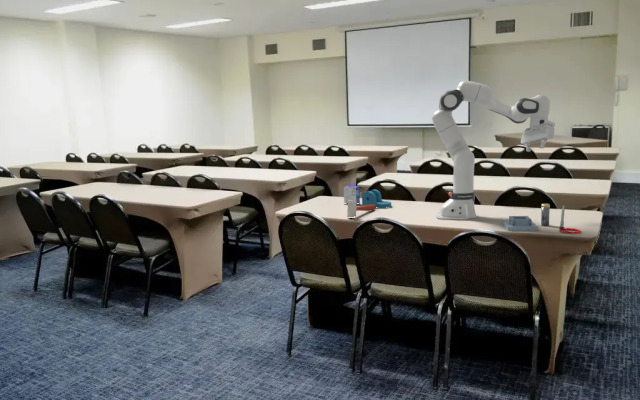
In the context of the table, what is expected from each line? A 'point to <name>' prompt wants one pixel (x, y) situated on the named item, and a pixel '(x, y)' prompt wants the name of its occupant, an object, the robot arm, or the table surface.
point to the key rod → (545, 214)
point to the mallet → (357, 208)
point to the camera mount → (374, 199)
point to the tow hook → (563, 230)
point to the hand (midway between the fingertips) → (534, 149)
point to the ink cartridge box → (351, 193)
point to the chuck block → (520, 224)
